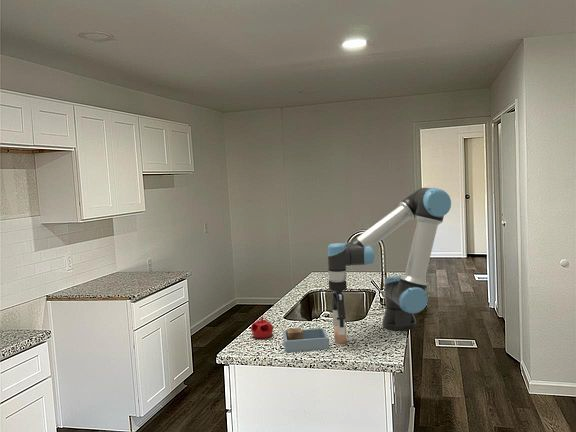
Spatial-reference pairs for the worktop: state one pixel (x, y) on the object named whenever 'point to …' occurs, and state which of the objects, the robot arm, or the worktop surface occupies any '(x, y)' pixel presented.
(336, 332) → the terracotta cylinder
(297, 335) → the walnut cube
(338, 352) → the worktop surface
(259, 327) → the pomegranate
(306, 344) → the tote
